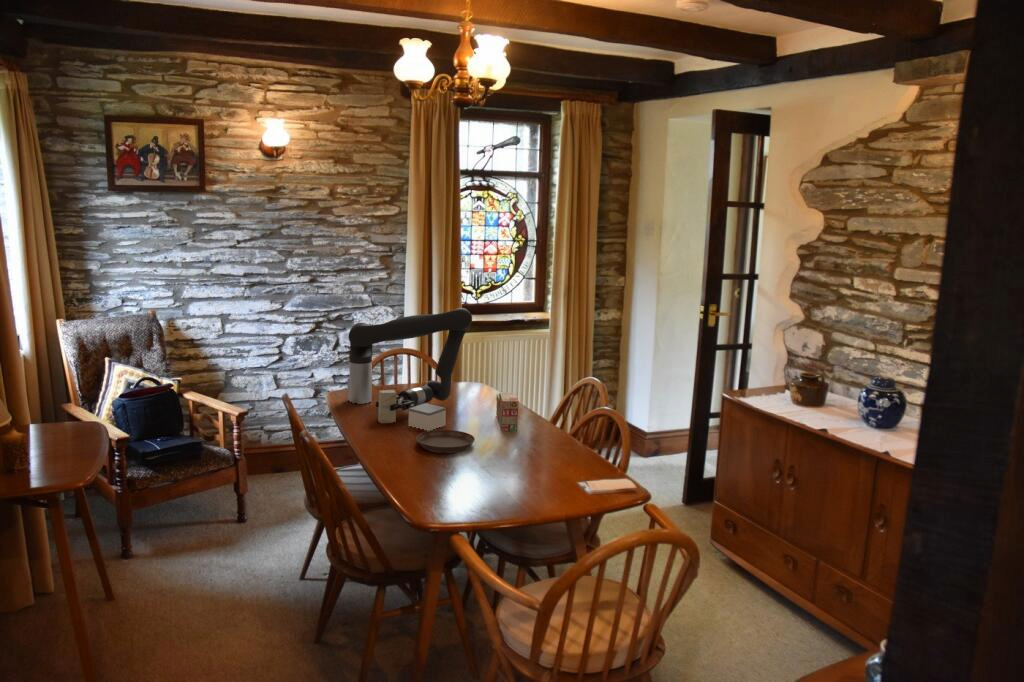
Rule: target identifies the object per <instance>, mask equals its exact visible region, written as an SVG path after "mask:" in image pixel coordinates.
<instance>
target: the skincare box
mask: <svg viewBox="0 0 1024 682" xmlns="http://www.w3.org/2000/svg"><path fill="white" fill-rule="evenodd" d="M396 396H398V394H397V391H396V390H395V389H385V390H384V389H383V390H381V389H380V390H378V401H379V407H377V408H378V411H377V413H378V414H377V415H378V417H377V420H378V422H379V423H380V424H392V423H393V422H395V423H396V421H397V410H394V411H390V405H393V404H396ZM393 424H394V423H393Z"/></svg>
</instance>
